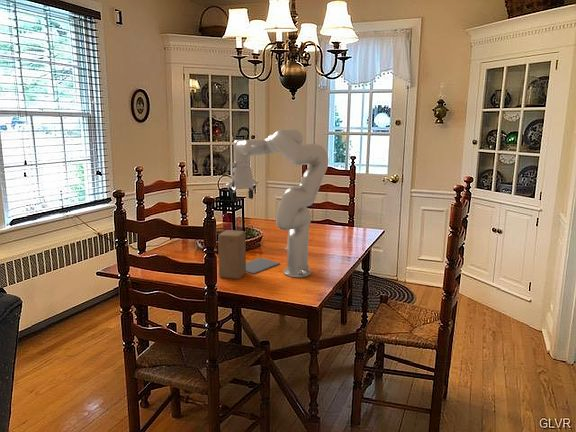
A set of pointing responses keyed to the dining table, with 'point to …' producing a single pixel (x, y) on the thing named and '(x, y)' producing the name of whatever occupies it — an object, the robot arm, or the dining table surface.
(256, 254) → the dining table surface
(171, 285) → the dining table surface
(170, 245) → the dining table surface
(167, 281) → the dining table surface
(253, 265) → the mat
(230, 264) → the wooden block
